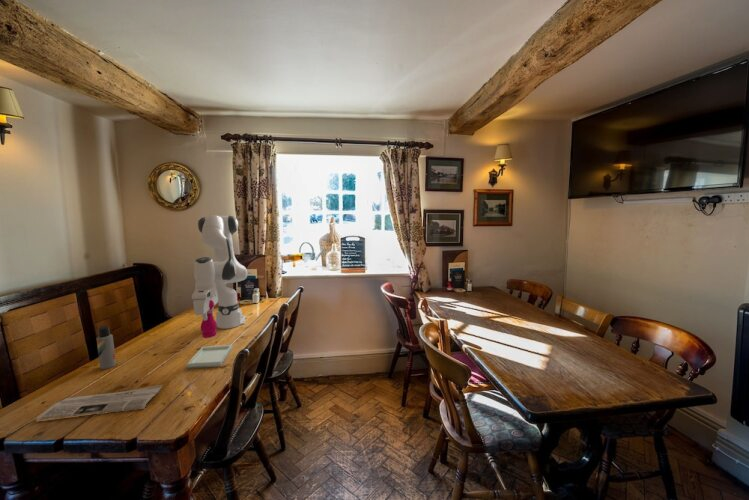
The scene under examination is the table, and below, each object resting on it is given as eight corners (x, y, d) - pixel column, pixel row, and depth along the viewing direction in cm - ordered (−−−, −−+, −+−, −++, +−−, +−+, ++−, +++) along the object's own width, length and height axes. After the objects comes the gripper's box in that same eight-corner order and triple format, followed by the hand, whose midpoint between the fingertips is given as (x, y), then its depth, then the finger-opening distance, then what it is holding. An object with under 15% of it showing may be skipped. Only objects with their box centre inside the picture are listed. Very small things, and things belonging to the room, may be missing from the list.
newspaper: (35, 424, 103) (34, 415, 103) (64, 402, 115) (63, 393, 115) (149, 409, 111) (148, 400, 110) (165, 390, 123) (164, 382, 122)
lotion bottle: (115, 362, 145) (111, 323, 142) (116, 366, 141) (111, 326, 138) (100, 366, 141) (94, 326, 138) (100, 370, 137) (95, 330, 134)
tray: (202, 351, 156) (202, 346, 156) (232, 349, 158) (232, 344, 158) (187, 369, 138) (186, 364, 138) (220, 366, 141) (220, 361, 141)
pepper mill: (210, 339, 143) (207, 299, 140) (197, 337, 144) (194, 298, 141) (220, 333, 150) (218, 295, 147) (208, 332, 151) (205, 294, 148)
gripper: (207, 285, 154) (209, 311, 155) (189, 296, 134) (192, 325, 135) (220, 285, 155) (222, 310, 156) (204, 296, 135) (207, 324, 136)
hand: (208, 317), depth 146 cm, fingers closed on pepper mill, 5 cm apart
